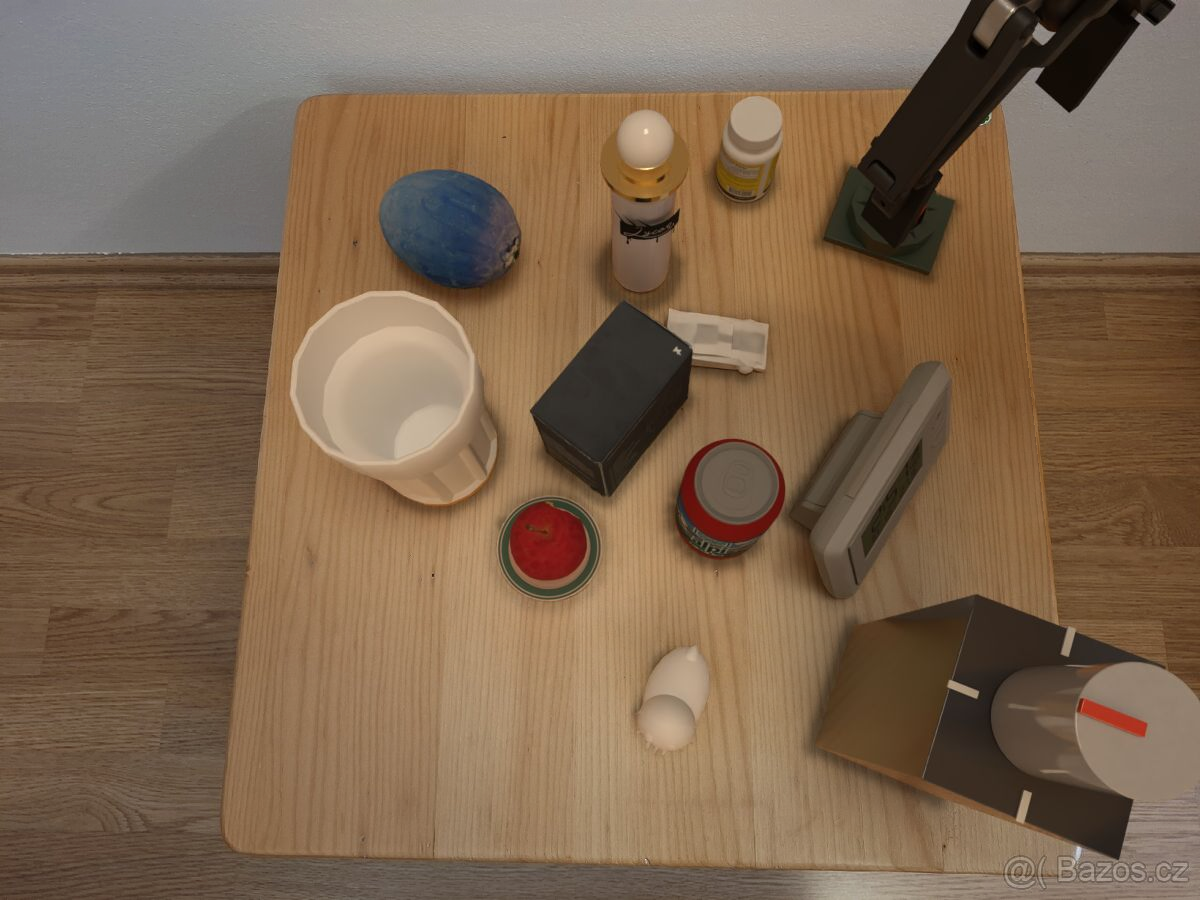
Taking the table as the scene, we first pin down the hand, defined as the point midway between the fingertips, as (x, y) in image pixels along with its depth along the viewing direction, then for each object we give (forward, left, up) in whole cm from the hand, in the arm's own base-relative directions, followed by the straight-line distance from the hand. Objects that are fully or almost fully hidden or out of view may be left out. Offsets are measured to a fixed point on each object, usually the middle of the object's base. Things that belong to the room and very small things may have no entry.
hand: (970, 160), depth 51 cm
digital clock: (-4, +14, -22) cm, 27 cm away
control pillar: (-11, +28, -22) cm, 38 cm away
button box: (+1, -9, -22) cm, 24 cm away
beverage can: (+6, +20, -22) cm, 30 cm away
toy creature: (+4, +34, -22) cm, 41 cm away
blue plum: (+32, +7, -22) cm, 39 cm away
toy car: (+11, +7, -22) cm, 26 cm away
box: (+16, +16, -22) cm, 31 cm away
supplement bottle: (+14, -8, -22) cm, 27 cm away
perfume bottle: (+19, +3, -22) cm, 29 cm away
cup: (+28, +23, -22) cm, 42 cm away
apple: (+17, +27, -22) cm, 39 cm away
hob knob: (-11, +28, +2) cm, 30 cm away
